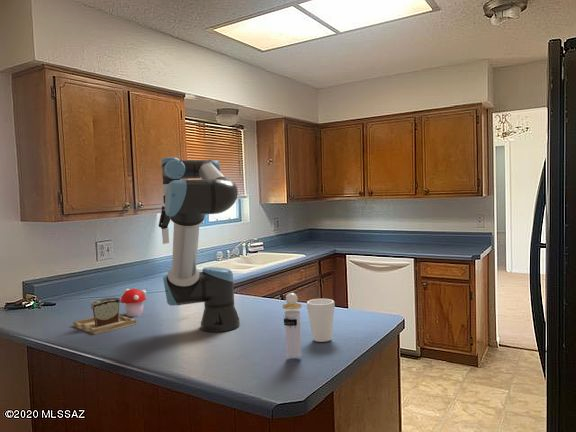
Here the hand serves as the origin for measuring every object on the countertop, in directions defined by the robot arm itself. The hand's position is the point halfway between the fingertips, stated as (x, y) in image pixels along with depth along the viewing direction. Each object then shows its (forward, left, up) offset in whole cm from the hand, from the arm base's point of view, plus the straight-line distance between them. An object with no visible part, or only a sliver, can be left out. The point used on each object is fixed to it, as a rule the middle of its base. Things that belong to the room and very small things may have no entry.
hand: (174, 244), depth 192 cm
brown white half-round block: (+16, +25, -31) cm, 43 cm away
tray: (+16, +25, -32) cm, 43 cm away
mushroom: (+21, +9, -32) cm, 39 cm away
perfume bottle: (-73, +7, -32) cm, 80 cm away
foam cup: (-69, -12, -32) cm, 77 cm away
